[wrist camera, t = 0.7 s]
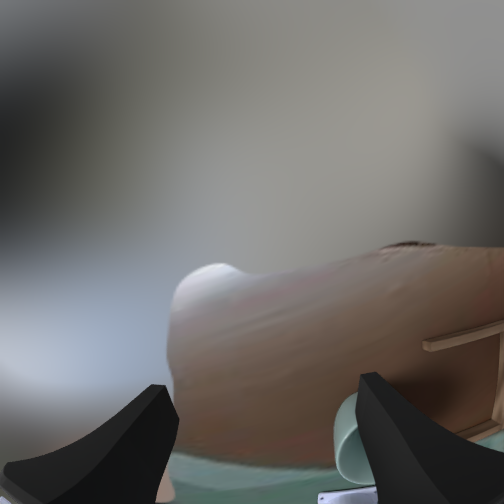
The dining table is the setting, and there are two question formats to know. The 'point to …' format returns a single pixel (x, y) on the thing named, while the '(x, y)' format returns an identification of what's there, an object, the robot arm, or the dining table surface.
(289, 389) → the dining table surface
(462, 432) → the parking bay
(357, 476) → the cup
